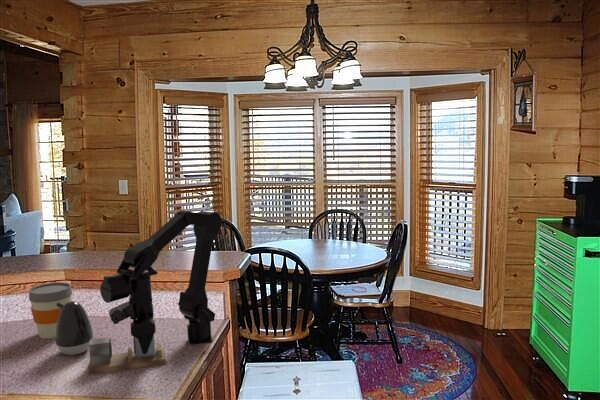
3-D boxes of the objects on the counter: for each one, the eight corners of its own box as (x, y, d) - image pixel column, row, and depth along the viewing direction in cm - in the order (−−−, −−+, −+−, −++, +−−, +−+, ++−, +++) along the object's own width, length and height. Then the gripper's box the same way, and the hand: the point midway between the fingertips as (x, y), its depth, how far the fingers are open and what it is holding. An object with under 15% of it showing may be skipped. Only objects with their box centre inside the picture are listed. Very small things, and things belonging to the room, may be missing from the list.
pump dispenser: (73, 342, 165) (69, 294, 163) (101, 346, 161) (97, 297, 159) (48, 356, 155) (43, 305, 153) (77, 360, 152) (72, 308, 150)
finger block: (154, 351, 153) (153, 331, 152) (155, 357, 149) (153, 336, 148) (134, 354, 152) (133, 333, 151) (134, 360, 148) (133, 339, 147)
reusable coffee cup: (83, 330, 175) (79, 285, 173) (47, 343, 164) (43, 296, 162) (60, 323, 182) (56, 280, 180) (24, 336, 171) (19, 290, 169)
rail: (164, 352, 156) (162, 327, 155) (166, 363, 148) (164, 337, 147) (90, 362, 150) (88, 337, 149) (88, 375, 143) (86, 348, 142)
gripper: (111, 286, 154) (115, 338, 157) (108, 307, 137) (112, 365, 139) (151, 282, 158) (154, 333, 160) (153, 302, 140) (157, 359, 142)
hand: (144, 347), depth 150 cm, fingers open, 9 cm apart
